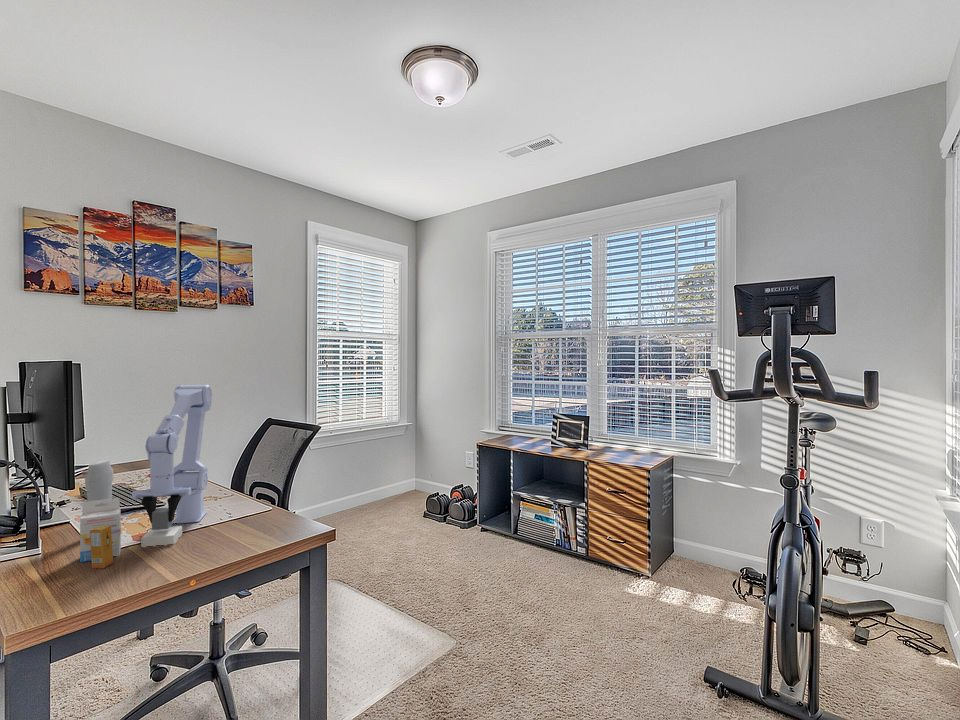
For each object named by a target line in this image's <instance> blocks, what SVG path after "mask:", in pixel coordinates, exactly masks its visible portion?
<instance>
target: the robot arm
mask: <svg viewBox="0 0 960 720" xmlns="http://www.w3.org/2000/svg"><path fill="white" fill-rule="evenodd" d="M212 399H213V392H212V388H211V386H210V385H209V384H193V385H192V384H178V385H176V387H175V388H174V391H173V400H174V404H173V406H172V408H171V412H170V414H168V415H165V416H164V417H163V419H162V420H161V423H160V424H159V426H158V428H157V429H156V431H155V432H154V433H153V434H151V435H149V436H148V437H147V438H146V442H145V451H146V454H147V460H148V461H149V476H150V477H149V482H150V483H149V488H148V489H141V490H133V491H132V492H131V499H132V500H137V499H142V500H141V505H142V506H143V507H144V509H145V510H146V513H147V515H148V517H149V521H150V524H152V512H153V511H154V510H156V509H157V500H158V498H163V497H166V498H167V497H168V498H167V499H166V500H167V506H168V507H167V508H169V522H172V523H174V524H175V523H177V524H186V523H187V524H189V523H196V522H197V523H198V522H200V521H201V520H203V518H204V517H205V516H206V515H207V514H208V511H207V510H204V509H205V507H204V505H205V502H204V498H205V497H204V496H205V495H204V493H203V491H205V489H206V488H207V486H208V483H209V482H208V481H209V476H208V468H207V466H205V464H203V463H202V462H201V461H200V458H201V457H200V456H201V449H202V440H203V432H204V422H205V417H206V413H207V412H208V411H210V410H211V407H212ZM186 414H187V421H186V429H185V435H184V444H183V451H182V453H183V454H182V460H181V462H180V463H178V464H177V465H175V466H174V464H175V463H174V453H175V452H176V450H177V448H178V443H179V442H178V441H179V435H180V433H181V431H182V430H183V427H184V425H185V421H184V419H183V418H185V416H186ZM175 525H176V524H175Z"/></svg>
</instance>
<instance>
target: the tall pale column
mask: <svg viewBox="0 0 960 720" xmlns="http://www.w3.org/2000/svg"><path fill="white" fill-rule="evenodd" d="M113 481H114V469H113V468H112V466H111V462H110V459H106V460H97V461H95V462H94V463H92V464H89V465H88V469H87V475H86V476H85V478H84V488H85V490H86V496H87V497H86V500H87V501H86V502H88V501H96V500H103V499H112V498H113V491H112V490H113ZM107 505H108V504H107V503H105V504H103V503H100V504H98V505H95V507H99V506H107Z"/></svg>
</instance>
